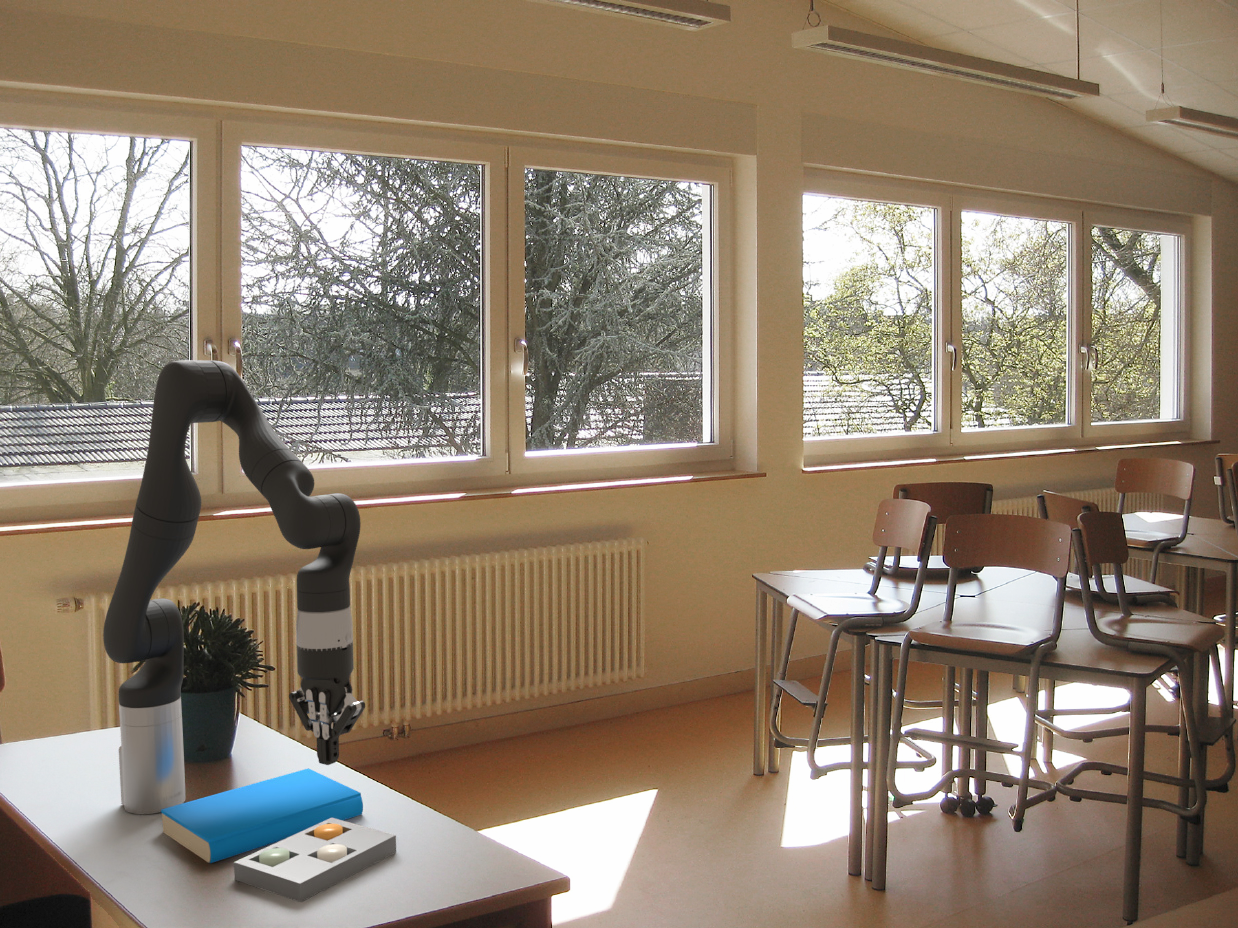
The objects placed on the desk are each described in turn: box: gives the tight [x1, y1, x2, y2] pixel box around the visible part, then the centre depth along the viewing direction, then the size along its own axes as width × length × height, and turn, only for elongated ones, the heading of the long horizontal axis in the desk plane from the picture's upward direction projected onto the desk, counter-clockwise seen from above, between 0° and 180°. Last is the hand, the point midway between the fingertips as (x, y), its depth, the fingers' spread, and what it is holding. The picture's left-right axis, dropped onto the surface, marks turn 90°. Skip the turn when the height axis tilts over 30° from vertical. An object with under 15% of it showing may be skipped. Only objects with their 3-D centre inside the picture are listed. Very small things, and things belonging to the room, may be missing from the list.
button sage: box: [259, 848, 290, 867], centre depth 157 cm, size 4×4×2 cm
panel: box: [233, 818, 397, 902], centre depth 160 cm, size 13×18×2 cm
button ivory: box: [317, 844, 347, 863], centre depth 158 cm, size 4×4×2 cm
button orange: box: [314, 824, 343, 841], centre depth 166 cm, size 4×4×2 cm
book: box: [160, 768, 364, 864], centre depth 175 cm, size 17×4×25 cm
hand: (328, 762), depth 157 cm, fingers closed
